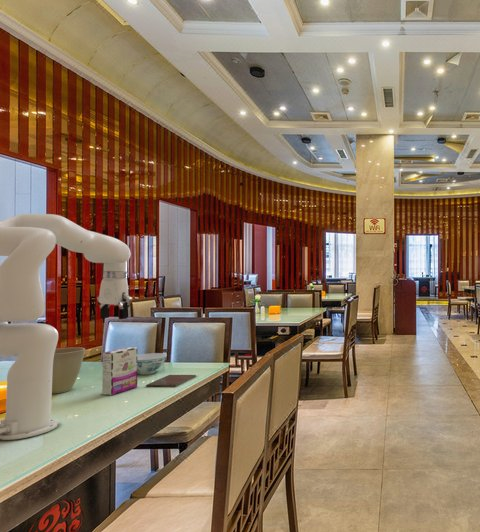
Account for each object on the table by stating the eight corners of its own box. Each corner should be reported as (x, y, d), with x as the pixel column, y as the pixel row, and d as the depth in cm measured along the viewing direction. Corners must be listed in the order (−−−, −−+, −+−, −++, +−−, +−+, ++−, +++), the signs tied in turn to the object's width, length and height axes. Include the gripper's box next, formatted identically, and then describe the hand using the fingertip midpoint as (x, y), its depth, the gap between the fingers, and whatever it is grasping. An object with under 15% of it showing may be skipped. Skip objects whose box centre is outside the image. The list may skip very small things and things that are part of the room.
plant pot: (93, 387, 152) (94, 348, 152) (49, 398, 138) (51, 355, 138) (67, 384, 156) (68, 346, 157) (23, 394, 142) (24, 353, 143)
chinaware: (127, 378, 165) (128, 361, 165) (127, 371, 177) (128, 355, 177) (167, 373, 174) (167, 357, 174) (165, 367, 186) (165, 351, 186)
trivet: (175, 386, 154) (175, 385, 154) (146, 386, 154) (146, 384, 154) (195, 376, 170) (195, 374, 170) (169, 376, 170) (169, 374, 170)
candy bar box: (127, 386, 154) (128, 346, 154) (137, 387, 153) (138, 347, 153) (100, 394, 143) (102, 352, 143) (111, 395, 142) (112, 352, 142)
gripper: (89, 275, 149) (88, 318, 148) (122, 276, 144) (120, 320, 144) (108, 275, 156) (107, 316, 156) (140, 276, 151) (139, 318, 151)
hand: (113, 318), depth 150 cm, fingers open, 9 cm apart
